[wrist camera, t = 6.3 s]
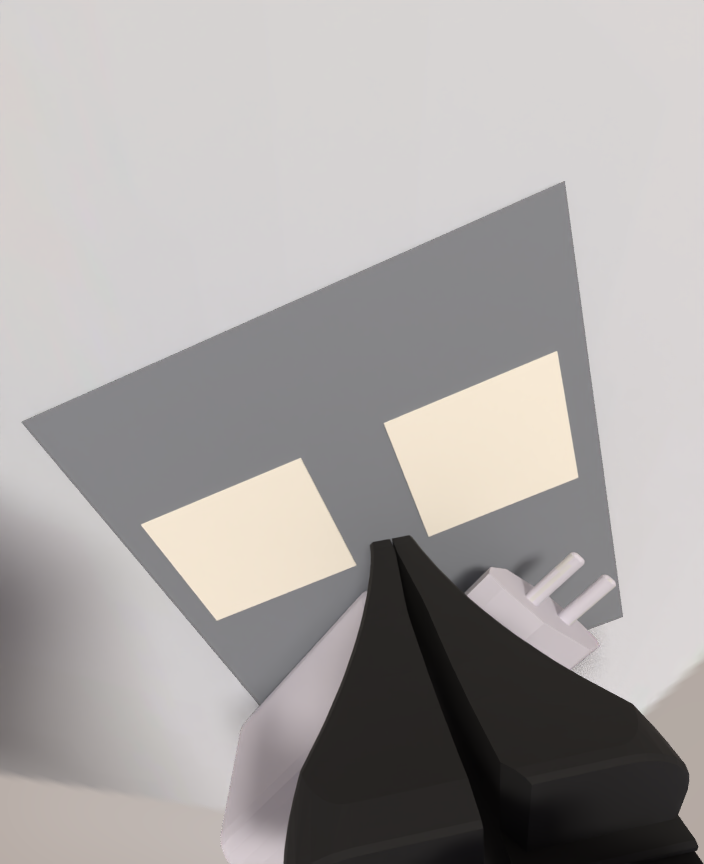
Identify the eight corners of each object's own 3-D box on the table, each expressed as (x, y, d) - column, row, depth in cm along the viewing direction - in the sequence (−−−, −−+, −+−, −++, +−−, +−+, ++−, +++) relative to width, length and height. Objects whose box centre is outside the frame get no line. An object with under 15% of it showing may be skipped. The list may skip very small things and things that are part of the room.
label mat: (24, 421, 10) (19, 422, 10) (562, 182, 9) (566, 180, 9) (289, 738, 16) (289, 742, 16) (621, 614, 15) (623, 617, 15)
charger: (614, 570, 14) (397, 761, 18) (464, 462, 12) (243, 708, 15) (748, 688, 10) (423, 912, 13) (552, 554, 7) (212, 874, 11)
